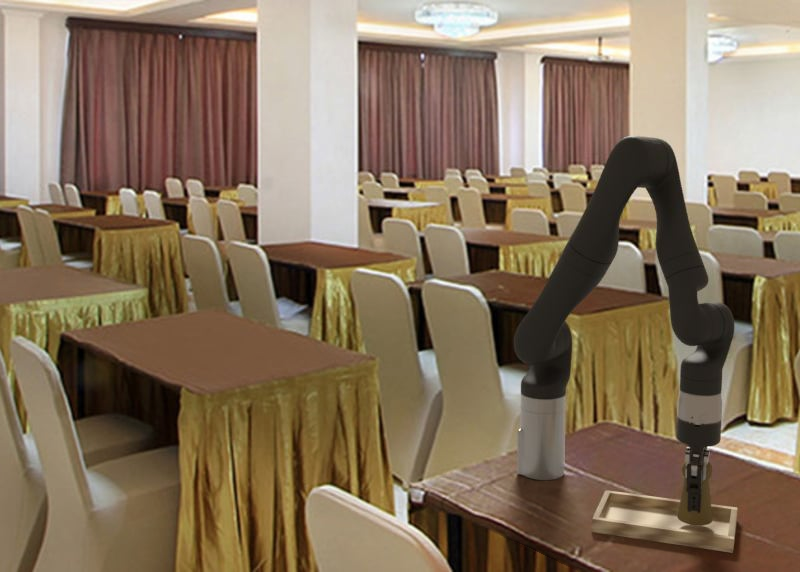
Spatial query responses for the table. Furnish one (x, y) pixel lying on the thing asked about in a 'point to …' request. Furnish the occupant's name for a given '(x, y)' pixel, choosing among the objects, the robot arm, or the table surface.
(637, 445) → the table surface
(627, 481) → the table surface
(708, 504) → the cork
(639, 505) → the birch tray
